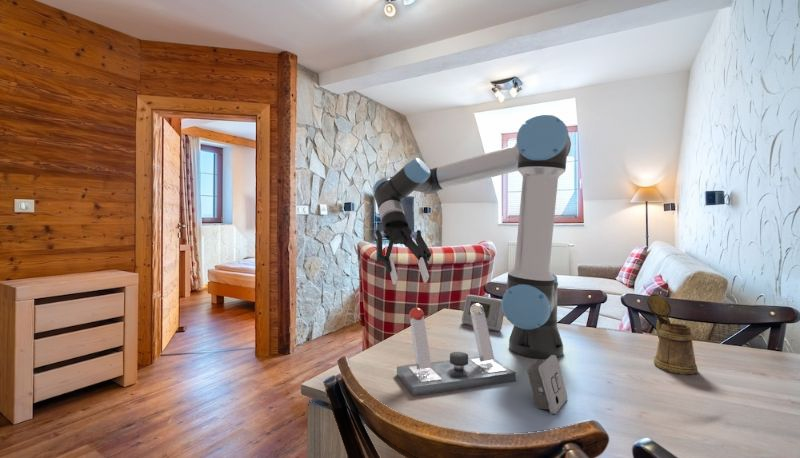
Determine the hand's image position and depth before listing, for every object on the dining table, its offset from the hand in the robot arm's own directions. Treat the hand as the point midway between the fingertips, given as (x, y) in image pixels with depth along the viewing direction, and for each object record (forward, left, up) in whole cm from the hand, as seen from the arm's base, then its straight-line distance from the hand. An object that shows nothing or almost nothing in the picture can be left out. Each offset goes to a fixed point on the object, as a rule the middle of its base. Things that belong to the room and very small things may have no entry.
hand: (411, 280), depth 97 cm
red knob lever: (-3, +9, -20) cm, 22 cm away
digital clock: (-26, -39, -23) cm, 52 cm away
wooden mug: (-69, -5, -23) cm, 73 cm away
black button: (-12, +6, -19) cm, 23 cm away
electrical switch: (-29, +18, -23) cm, 41 cm away
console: (-11, +6, -23) cm, 26 cm away
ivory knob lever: (-19, +3, -20) cm, 28 cm away
